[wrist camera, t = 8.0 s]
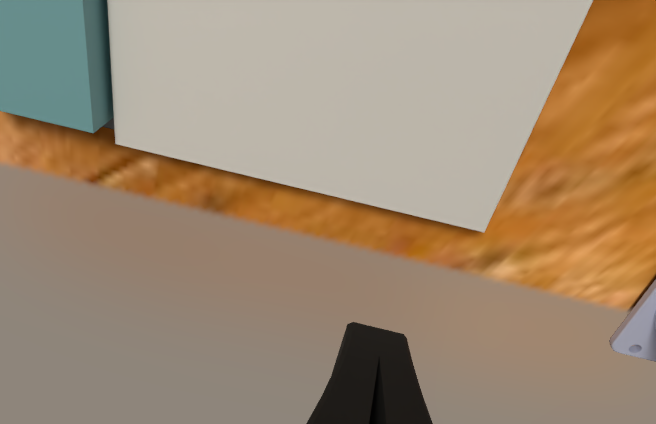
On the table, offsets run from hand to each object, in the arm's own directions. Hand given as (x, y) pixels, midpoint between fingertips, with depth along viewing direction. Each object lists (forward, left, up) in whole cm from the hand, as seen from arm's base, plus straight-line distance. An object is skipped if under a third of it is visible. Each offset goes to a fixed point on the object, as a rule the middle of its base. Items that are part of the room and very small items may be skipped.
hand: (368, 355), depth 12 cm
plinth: (+3, -5, -9) cm, 11 cm away
